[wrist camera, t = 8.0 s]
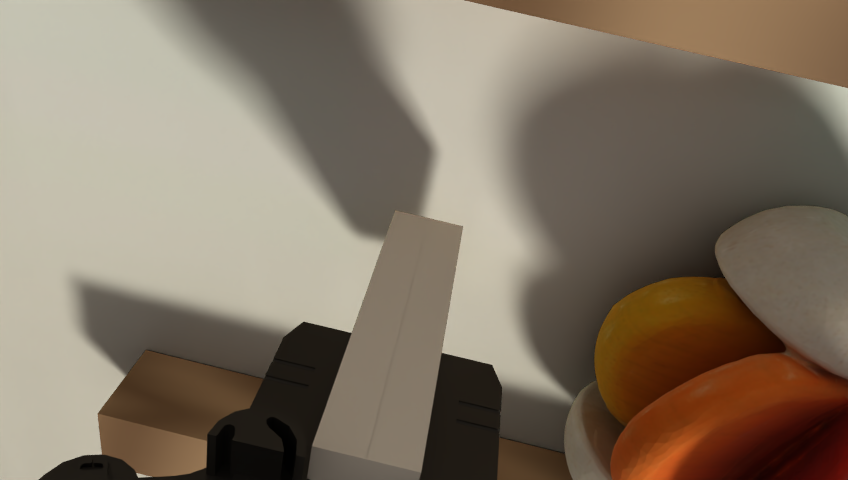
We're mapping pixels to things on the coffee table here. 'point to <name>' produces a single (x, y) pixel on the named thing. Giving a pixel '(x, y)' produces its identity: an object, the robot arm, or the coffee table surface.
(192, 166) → the coffee table surface
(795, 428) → the rainbow sensory ball
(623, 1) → the bay
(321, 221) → the coffee table surface
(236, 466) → the robot arm
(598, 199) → the coffee table surface
